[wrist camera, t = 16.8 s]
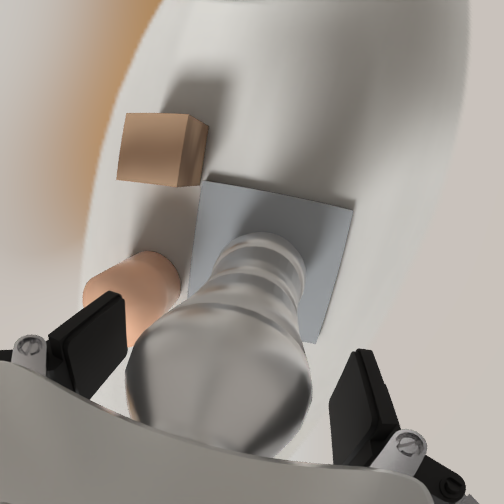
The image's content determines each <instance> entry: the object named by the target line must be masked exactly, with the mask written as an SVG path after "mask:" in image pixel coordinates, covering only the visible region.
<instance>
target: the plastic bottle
mask: <svg viewBox="0 0 504 504" xmlns="http://www.w3.org/2000/svg"><path fill="white" fill-rule="evenodd" d="M305 284H306V268H305V264H304V261H303V259H302V257H301V255H300V253H299V252H298V251H297V250H296V248H295V247H294V246H293V245H292V244H291V243H290V242H288V241H287V240H286V239H284V238H282V237H281V236H279V235H276V234H272V233H267V232H256V233H249V234H246V235H242V236H240V237H238V238H236V239H234V240H232V241H231V242H230V243H229V244H227V245H226V246H225V247H224V249H223V250H222V251H221V252H220V254H219V256H218V258H217V260H216V262H215V264H214V267H213V270H212V274H211V276H210V277H209V279H208V281H207V282H206V283H205V284H204V285H203V286H202V287H201V288H200V289H199V290H198V291H197V292H196V293H195V294H194V295H193V296H191V297H190V298H188V299H187V300H185V301H184V302H182V303H181V304H179V305H178V306H176V307H175V308H173V309H172V310H170V311H169V312H167V313H166V314H164V315H163V316H162V317H160V318H159V319H158V320H156V321H155V322H154V323H153V324H152V325H151V326H149V327H148V328H147V329H146V330H145V331H143V333H142V334H141V335H140V337H139V338H138V339H137V341H136V342H135V344H134V347H133V350H132V353H131V355H130V358H129V361H128V364H127V367H126V370H125V390H126V400H127V406H128V410H129V414H130V418H131V419H132V420H135V421H137V422H140V423H143V424H145V425H148V426H150V427H153V428H156V429H159V430H162V431H164V432H167V433H170V434H173V435H176V436H180V437H183V438H186V439H189V440H193V441H196V442H200V443H203V444H207V445H211V446H215V447H219V448H223V449H227V450H232V451H236V452H241V453H246V454H251V455H256V456H262V457H268V458H273V457H275V456H276V455H277V454H278V453H279V452H280V451H281V450H282V449H283V448H284V447H285V446H286V445H287V444H288V443H289V442H290V441H291V440H292V439H293V438H294V437H295V435H296V434H297V433H298V431H299V430H300V428H301V426H302V424H303V422H304V419H305V417H306V415H307V413H308V410H309V407H310V404H311V401H312V381H311V374H310V368H309V365H308V361H307V357H306V355H305V351H304V347H303V344H302V340H301V337H300V333H299V326H298V316H297V309H298V304H299V302H300V299H301V297H302V295H303V292H304V288H305Z"/></svg>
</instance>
